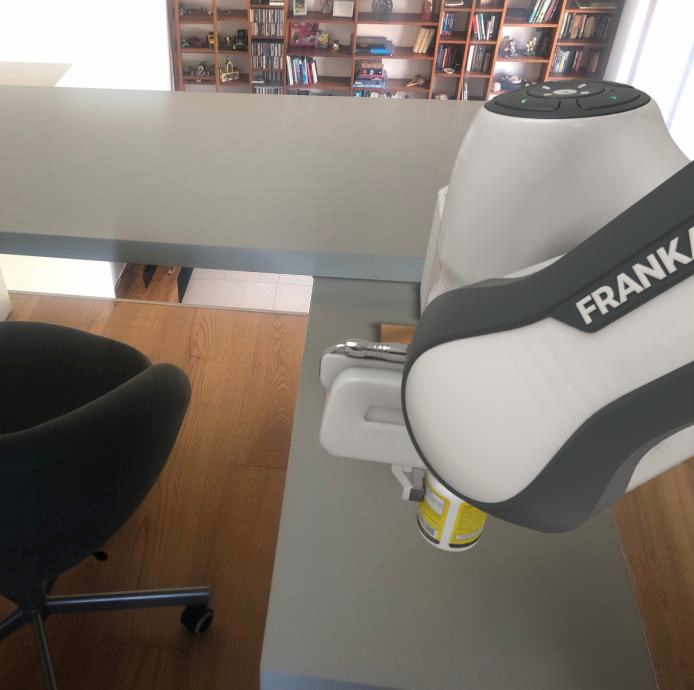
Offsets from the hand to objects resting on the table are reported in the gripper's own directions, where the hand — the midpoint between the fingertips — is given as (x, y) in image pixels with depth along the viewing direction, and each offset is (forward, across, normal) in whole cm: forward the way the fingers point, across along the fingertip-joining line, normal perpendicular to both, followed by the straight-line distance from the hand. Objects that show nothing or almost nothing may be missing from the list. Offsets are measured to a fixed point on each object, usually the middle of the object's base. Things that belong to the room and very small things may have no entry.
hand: (455, 500), depth 50 cm
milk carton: (+15, +2, +46) cm, 48 cm away
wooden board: (+15, +2, +32) cm, 35 cm away
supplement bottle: (+3, 0, 0) cm, 3 cm away
